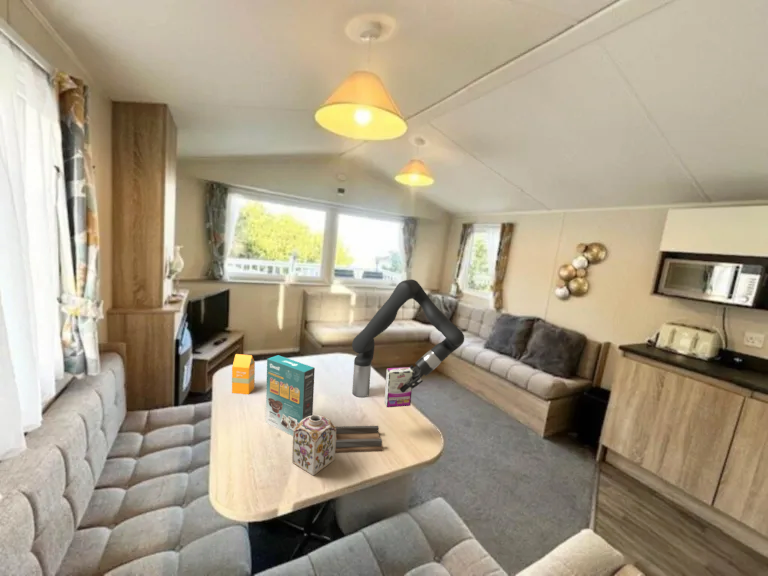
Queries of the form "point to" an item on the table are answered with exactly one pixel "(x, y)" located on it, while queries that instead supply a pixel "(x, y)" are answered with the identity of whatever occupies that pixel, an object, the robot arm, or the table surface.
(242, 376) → the orange juice
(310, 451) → the decorative jar
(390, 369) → the candy bar box
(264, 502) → the table surface
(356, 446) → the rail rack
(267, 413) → the cake mix box
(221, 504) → the table surface
